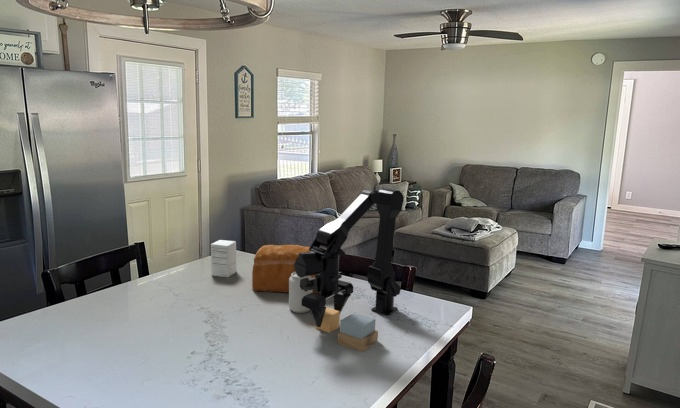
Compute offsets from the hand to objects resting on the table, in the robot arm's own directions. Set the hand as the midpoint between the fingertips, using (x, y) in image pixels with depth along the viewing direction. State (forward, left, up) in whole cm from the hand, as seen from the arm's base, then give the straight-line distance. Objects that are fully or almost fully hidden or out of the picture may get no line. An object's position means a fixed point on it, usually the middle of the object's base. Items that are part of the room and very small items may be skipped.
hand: (327, 321), depth 147 cm
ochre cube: (0, 0, -2) cm, 2 cm away
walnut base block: (+3, +12, -2) cm, 13 cm away
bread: (-20, -31, -2) cm, 37 cm away
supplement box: (-16, -61, -2) cm, 63 cm away
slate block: (+3, +12, +1) cm, 13 cm away
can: (-6, -15, -2) cm, 16 cm away
